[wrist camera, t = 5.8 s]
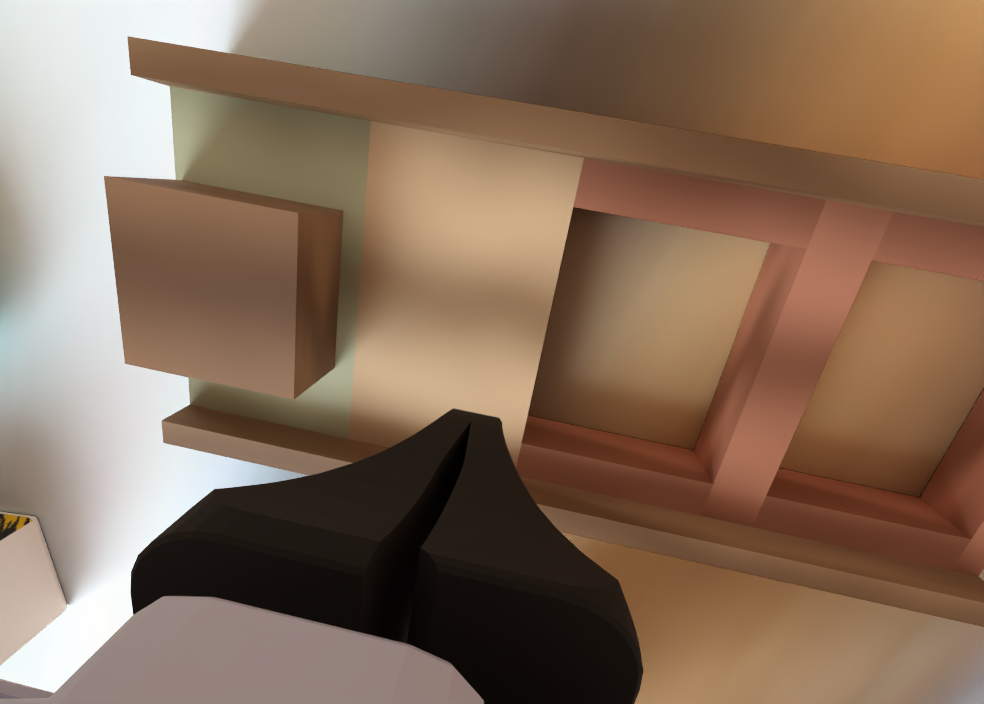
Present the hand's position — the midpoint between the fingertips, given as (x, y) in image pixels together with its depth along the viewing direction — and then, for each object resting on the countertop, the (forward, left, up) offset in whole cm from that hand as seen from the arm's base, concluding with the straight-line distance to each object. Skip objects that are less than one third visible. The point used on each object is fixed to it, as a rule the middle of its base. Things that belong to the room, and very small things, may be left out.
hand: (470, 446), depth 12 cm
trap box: (+2, -4, -8) cm, 9 cm away
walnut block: (+2, +9, -6) cm, 11 cm away
